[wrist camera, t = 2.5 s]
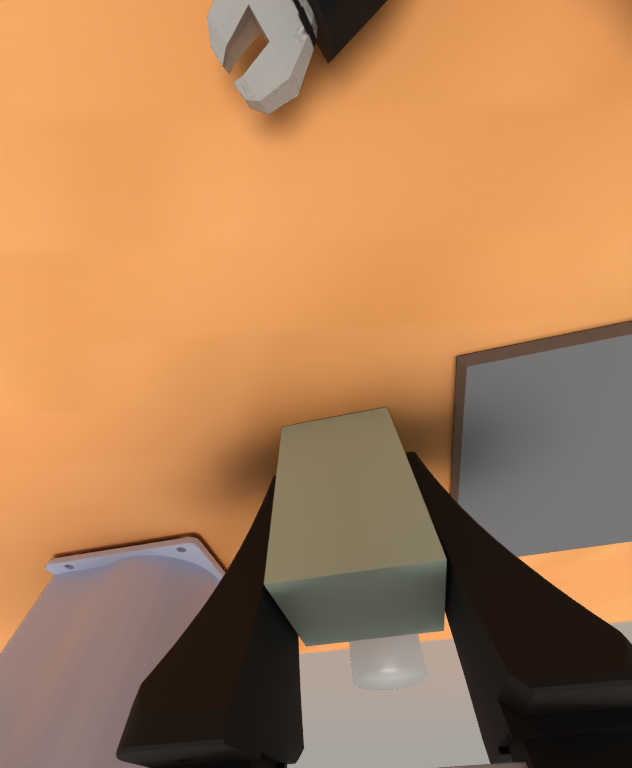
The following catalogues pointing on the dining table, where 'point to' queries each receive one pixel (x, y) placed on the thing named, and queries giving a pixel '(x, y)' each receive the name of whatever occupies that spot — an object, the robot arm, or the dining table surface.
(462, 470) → the mat
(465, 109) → the dining table surface
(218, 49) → the robot toy
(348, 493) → the block
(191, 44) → the dining table surface
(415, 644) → the grey cylinder
